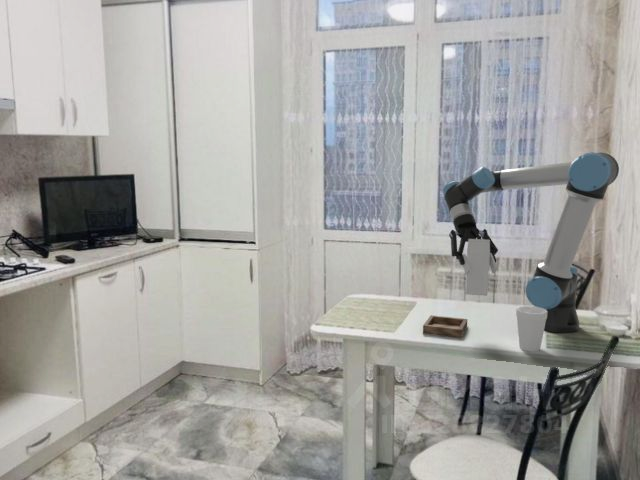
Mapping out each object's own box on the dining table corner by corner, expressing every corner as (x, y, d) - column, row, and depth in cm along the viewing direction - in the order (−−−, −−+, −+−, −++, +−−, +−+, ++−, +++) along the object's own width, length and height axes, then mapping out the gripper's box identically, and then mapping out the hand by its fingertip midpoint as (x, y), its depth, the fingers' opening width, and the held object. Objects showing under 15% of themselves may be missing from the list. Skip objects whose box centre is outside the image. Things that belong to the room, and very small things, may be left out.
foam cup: (513, 342, 197) (515, 305, 195) (542, 344, 195) (544, 306, 193) (516, 352, 188) (518, 313, 185) (547, 354, 186) (549, 314, 184)
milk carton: (487, 296, 200) (490, 241, 196) (465, 294, 201) (468, 240, 198) (485, 291, 207) (489, 238, 203) (465, 289, 208) (468, 237, 205)
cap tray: (467, 326, 214) (467, 319, 213) (461, 338, 202) (461, 329, 201) (430, 322, 219) (430, 315, 218) (422, 333, 207) (423, 325, 206)
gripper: (486, 224, 217) (506, 276, 205) (431, 226, 213) (448, 278, 200) (494, 212, 211) (515, 264, 199) (438, 213, 207) (455, 266, 194)
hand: (481, 271), depth 199 cm, fingers closed on milk carton, 9 cm apart
